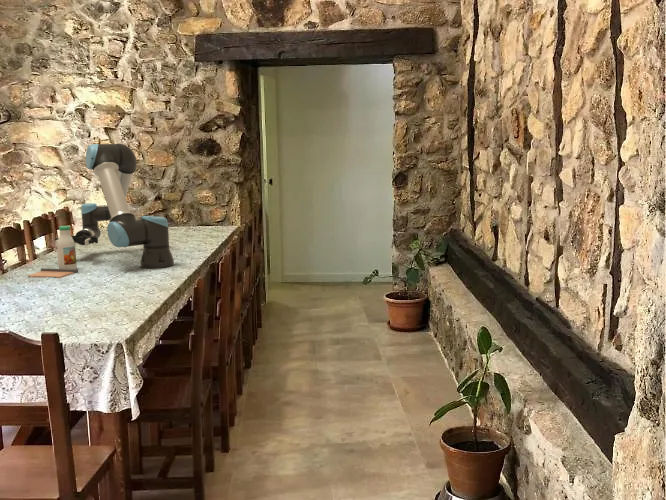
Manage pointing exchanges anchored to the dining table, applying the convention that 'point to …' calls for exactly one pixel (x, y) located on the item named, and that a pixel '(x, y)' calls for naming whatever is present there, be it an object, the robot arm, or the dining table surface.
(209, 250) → the dining table surface
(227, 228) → the dining table surface
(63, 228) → the milk bottle
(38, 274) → the tile
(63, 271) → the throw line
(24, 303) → the dining table surface
